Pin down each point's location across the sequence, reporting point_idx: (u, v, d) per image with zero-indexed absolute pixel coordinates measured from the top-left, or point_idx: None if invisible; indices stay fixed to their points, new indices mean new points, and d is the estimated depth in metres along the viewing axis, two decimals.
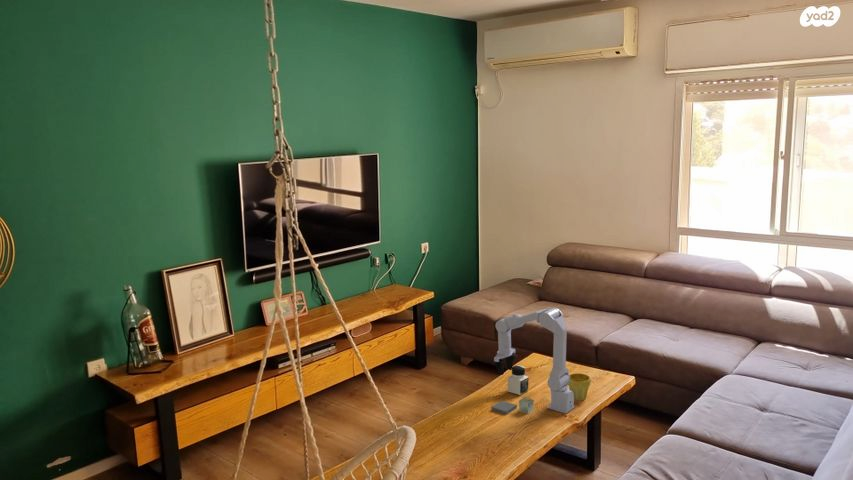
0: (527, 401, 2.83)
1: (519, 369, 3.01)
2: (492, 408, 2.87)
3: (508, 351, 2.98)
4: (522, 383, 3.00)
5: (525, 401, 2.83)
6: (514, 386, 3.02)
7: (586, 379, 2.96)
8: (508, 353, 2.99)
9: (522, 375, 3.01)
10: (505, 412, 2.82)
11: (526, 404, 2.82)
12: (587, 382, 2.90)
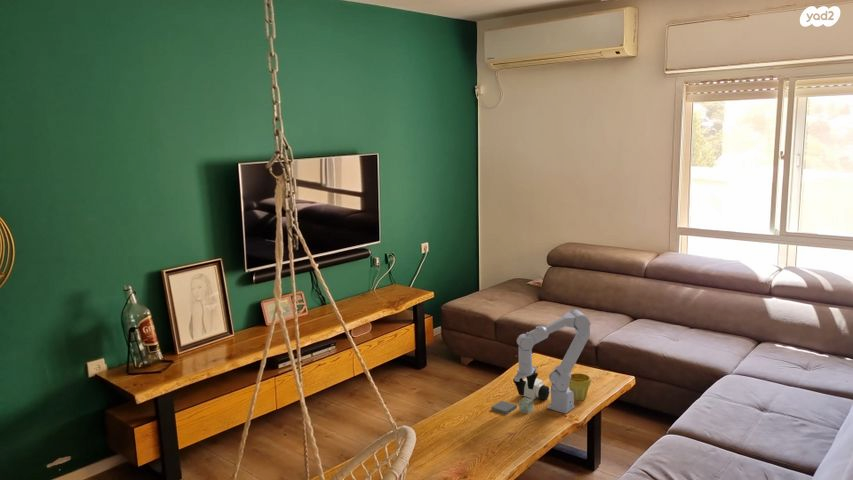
0: (527, 401, 2.83)
1: (544, 398, 2.94)
2: (492, 408, 2.87)
3: (529, 370, 2.79)
4: None
5: (525, 401, 2.83)
6: (527, 390, 2.97)
7: (586, 379, 2.96)
8: (529, 372, 2.79)
9: None
10: (505, 412, 2.82)
11: (526, 404, 2.82)
12: (587, 382, 2.90)
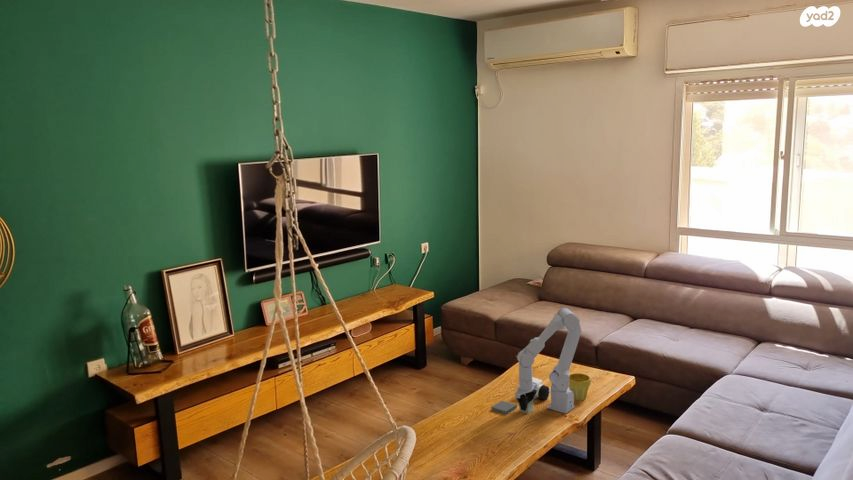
0: (527, 401, 2.83)
1: (544, 398, 2.94)
2: (492, 408, 2.87)
3: (530, 386, 2.80)
4: None
5: None
6: None
7: (586, 379, 2.96)
8: (530, 388, 2.80)
9: None
10: (505, 412, 2.82)
11: (526, 404, 2.82)
12: (587, 382, 2.90)
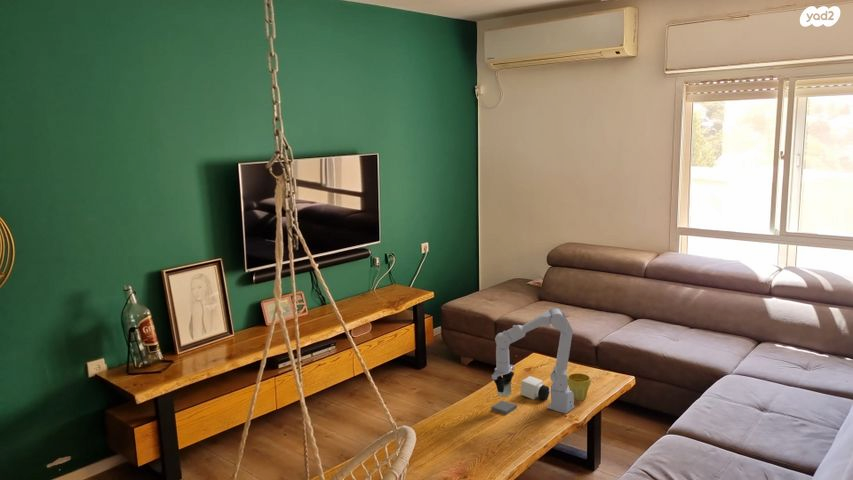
0: (504, 384, 2.84)
1: (544, 398, 2.94)
2: (492, 408, 2.87)
3: (506, 368, 2.82)
4: None
5: None
6: (527, 390, 2.97)
7: (586, 379, 2.96)
8: (506, 370, 2.82)
9: None
10: (505, 412, 2.82)
11: (503, 387, 2.83)
12: (587, 382, 2.90)
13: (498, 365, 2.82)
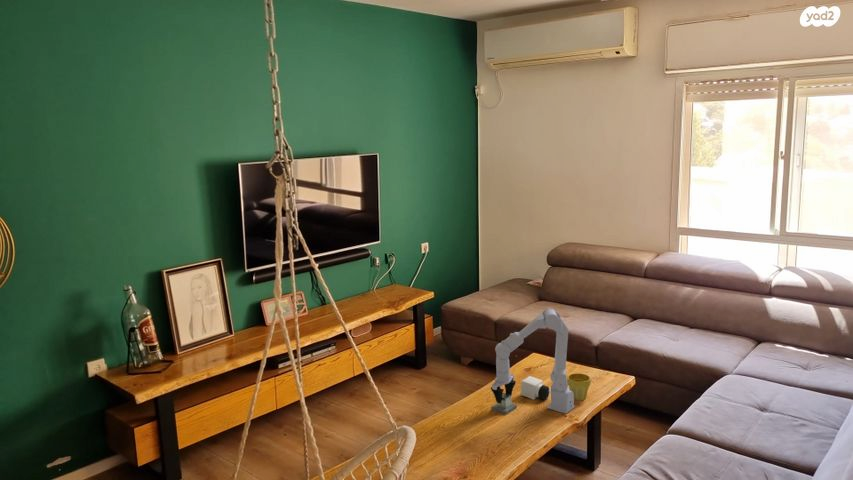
0: (505, 396, 2.85)
1: (544, 398, 2.94)
2: (492, 408, 2.87)
3: (507, 378, 2.83)
4: None
5: (503, 396, 2.85)
6: (527, 390, 2.97)
7: (586, 379, 2.96)
8: (507, 380, 2.83)
9: None
10: (505, 412, 2.82)
11: (504, 399, 2.84)
12: (587, 382, 2.90)
13: (498, 375, 2.83)
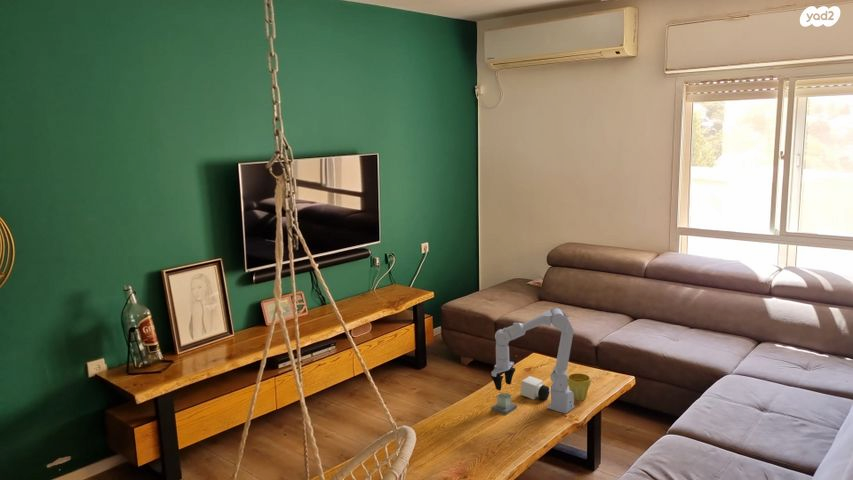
0: (505, 396, 2.85)
1: (544, 398, 2.94)
2: (492, 408, 2.87)
3: (506, 365, 2.82)
4: None
5: (503, 396, 2.85)
6: (527, 390, 2.97)
7: (586, 379, 2.96)
8: (506, 367, 2.82)
9: None
10: (505, 412, 2.82)
11: (504, 399, 2.84)
12: (587, 382, 2.90)
13: (498, 362, 2.82)
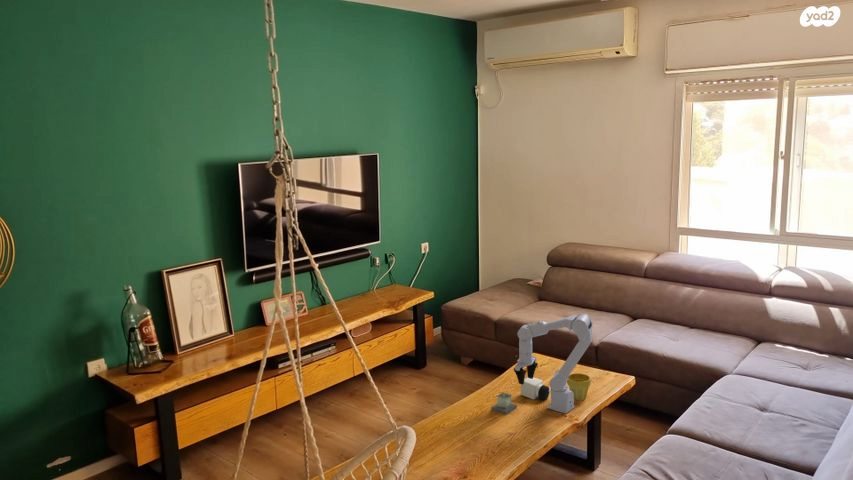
0: (505, 396, 2.85)
1: (544, 398, 2.94)
2: (492, 408, 2.87)
3: (529, 359, 2.86)
4: None
5: (503, 396, 2.85)
6: (527, 390, 2.97)
7: (586, 379, 2.96)
8: (529, 362, 2.87)
9: None
10: (505, 412, 2.82)
11: (504, 399, 2.84)
12: (587, 382, 2.90)
13: (521, 356, 2.87)
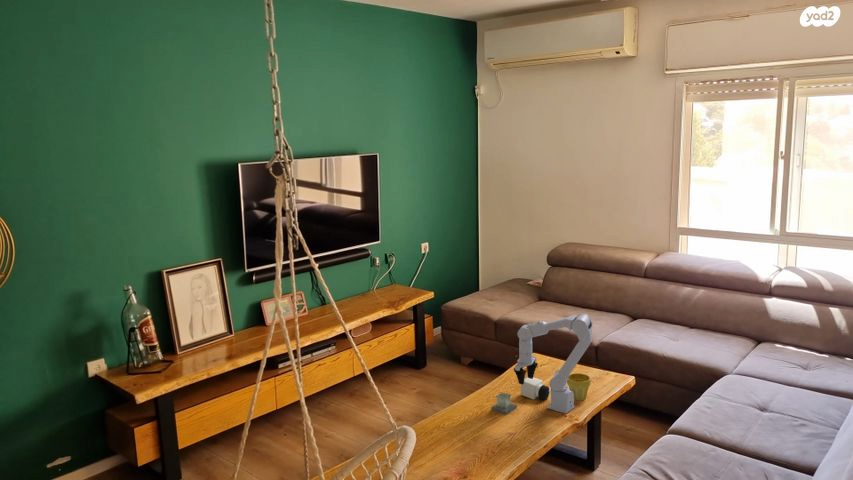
0: (504, 396, 2.85)
1: (544, 398, 2.94)
2: (492, 408, 2.87)
3: (529, 359, 2.86)
4: None
5: (502, 396, 2.85)
6: (527, 390, 2.97)
7: (586, 379, 2.96)
8: (529, 362, 2.87)
9: None
10: (505, 412, 2.82)
11: (503, 399, 2.84)
12: (587, 382, 2.90)
13: (521, 356, 2.87)
